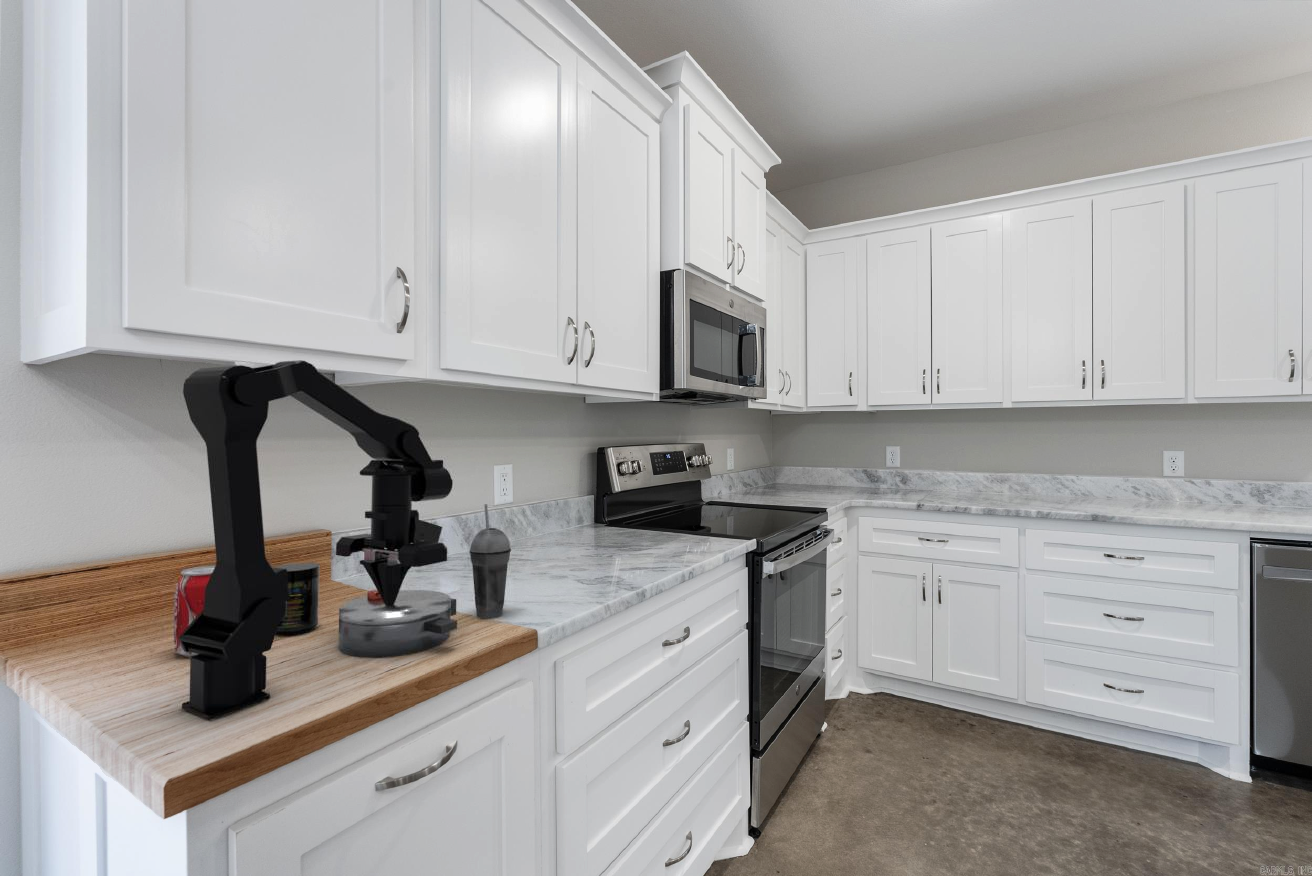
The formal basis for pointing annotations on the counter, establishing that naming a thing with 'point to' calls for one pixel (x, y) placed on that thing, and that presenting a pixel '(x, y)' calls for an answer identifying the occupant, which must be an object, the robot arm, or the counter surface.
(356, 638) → the pressure cooker pot
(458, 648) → the counter surface
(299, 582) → the supplement container
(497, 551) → the beverage cup
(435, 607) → the pressure cooker lid
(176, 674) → the counter surface
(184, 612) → the soda can
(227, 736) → the counter surface
